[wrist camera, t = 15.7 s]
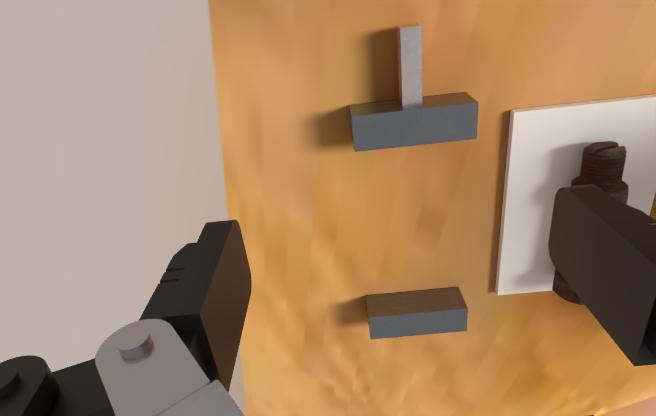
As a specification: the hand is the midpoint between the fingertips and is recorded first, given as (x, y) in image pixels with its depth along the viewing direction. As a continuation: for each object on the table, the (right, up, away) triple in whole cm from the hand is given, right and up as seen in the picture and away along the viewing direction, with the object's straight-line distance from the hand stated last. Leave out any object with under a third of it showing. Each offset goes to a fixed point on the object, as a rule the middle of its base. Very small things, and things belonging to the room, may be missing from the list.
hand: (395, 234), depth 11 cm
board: (+22, +1, +31) cm, 39 cm away
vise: (+6, +2, +31) cm, 31 cm away
